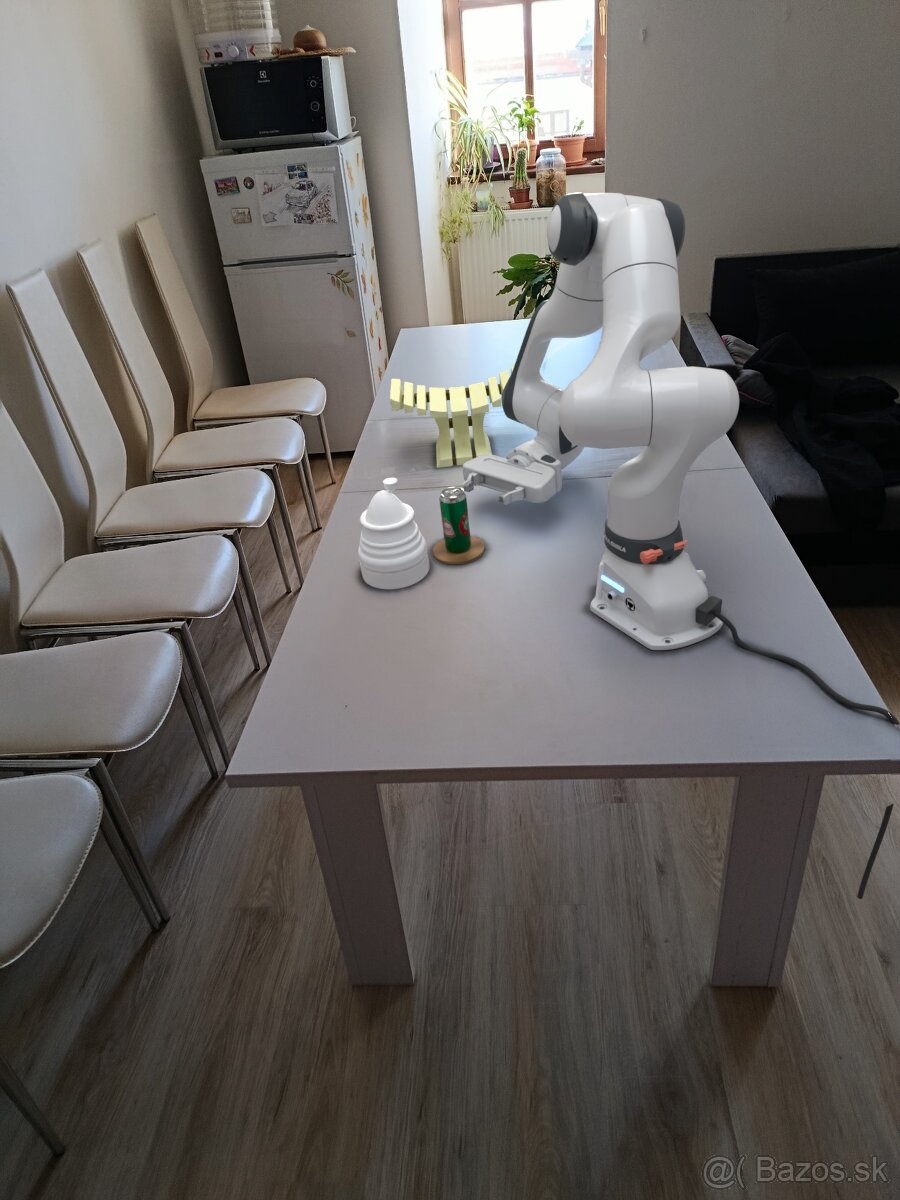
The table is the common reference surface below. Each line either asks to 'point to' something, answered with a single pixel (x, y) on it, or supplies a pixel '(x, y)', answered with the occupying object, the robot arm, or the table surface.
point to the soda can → (455, 519)
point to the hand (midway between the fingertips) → (483, 494)
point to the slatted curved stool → (453, 414)
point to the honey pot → (391, 542)
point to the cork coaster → (458, 558)
